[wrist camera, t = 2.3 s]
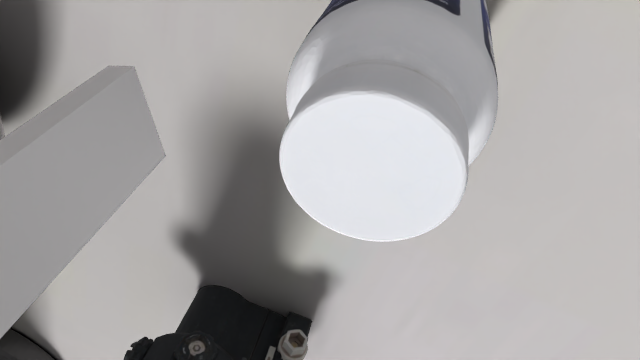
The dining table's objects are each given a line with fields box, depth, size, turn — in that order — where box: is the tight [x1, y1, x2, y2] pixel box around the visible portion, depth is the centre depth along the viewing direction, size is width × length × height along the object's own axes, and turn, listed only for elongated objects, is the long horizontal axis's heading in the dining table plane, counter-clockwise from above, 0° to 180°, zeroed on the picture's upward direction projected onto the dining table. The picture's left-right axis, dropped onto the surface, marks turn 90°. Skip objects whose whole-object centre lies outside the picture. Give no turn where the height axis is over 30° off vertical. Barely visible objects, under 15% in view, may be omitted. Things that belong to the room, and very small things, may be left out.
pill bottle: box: [279, 0, 498, 242], centre depth 13 cm, size 5×5×10 cm
